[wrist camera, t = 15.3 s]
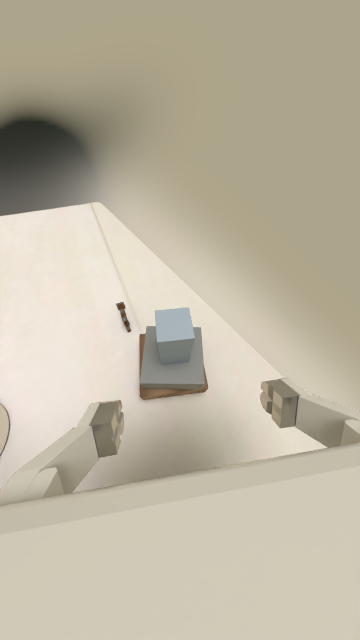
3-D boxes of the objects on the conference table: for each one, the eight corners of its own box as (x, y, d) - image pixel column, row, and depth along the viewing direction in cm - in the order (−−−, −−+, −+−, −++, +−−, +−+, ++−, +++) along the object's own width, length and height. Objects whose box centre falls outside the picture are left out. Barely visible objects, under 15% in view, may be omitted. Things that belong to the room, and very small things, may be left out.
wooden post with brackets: (126, 335, 39) (119, 318, 36) (121, 317, 45) (115, 303, 42) (133, 332, 39) (127, 316, 36) (128, 315, 45) (122, 300, 43)
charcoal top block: (143, 388, 30) (139, 383, 26) (149, 337, 35) (146, 326, 31) (200, 389, 30) (204, 384, 26) (197, 338, 35) (200, 327, 31)
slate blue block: (161, 365, 27) (157, 342, 20) (159, 339, 30) (154, 310, 22) (188, 361, 28) (195, 338, 20) (184, 337, 30) (188, 307, 22)
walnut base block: (143, 400, 33) (139, 396, 29) (142, 343, 39) (139, 334, 35) (204, 392, 34) (208, 388, 30) (194, 338, 40) (196, 329, 36)
